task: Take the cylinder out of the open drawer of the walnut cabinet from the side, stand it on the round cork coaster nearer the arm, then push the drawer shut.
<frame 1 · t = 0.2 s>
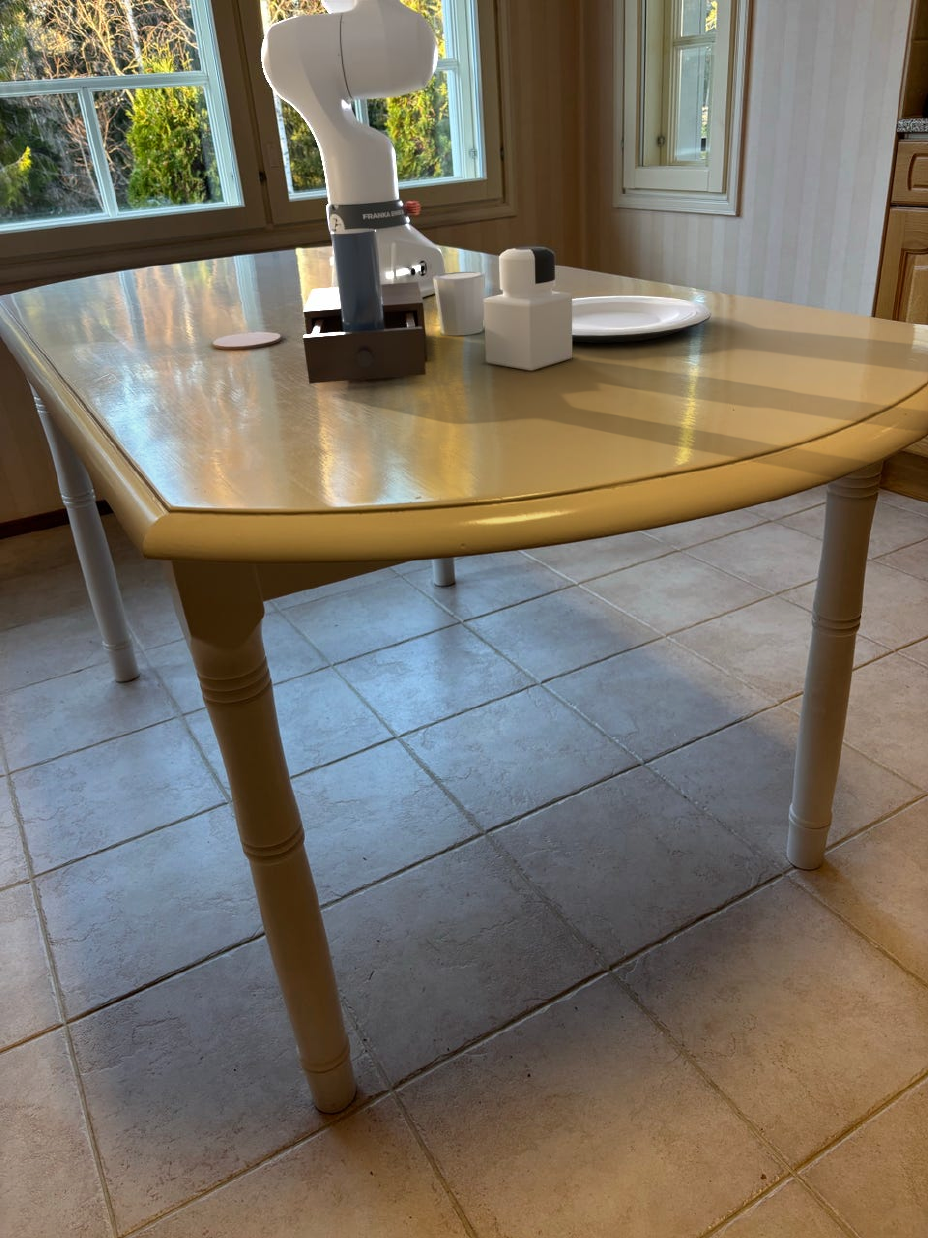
coaster: (247, 341, 120), on the table
medicine bottle: (529, 362, 102), on the table
white cup: (462, 332, 119), on the table
cabinet: (370, 350, 111), on the table
plate: (609, 329, 115), on the table
cylinder: (367, 358, 99), point 2 cm above the table, touching drawer
drawer: (366, 342, 100), point 3 cm above the table, slide at 9.0 cm, touching cylinder
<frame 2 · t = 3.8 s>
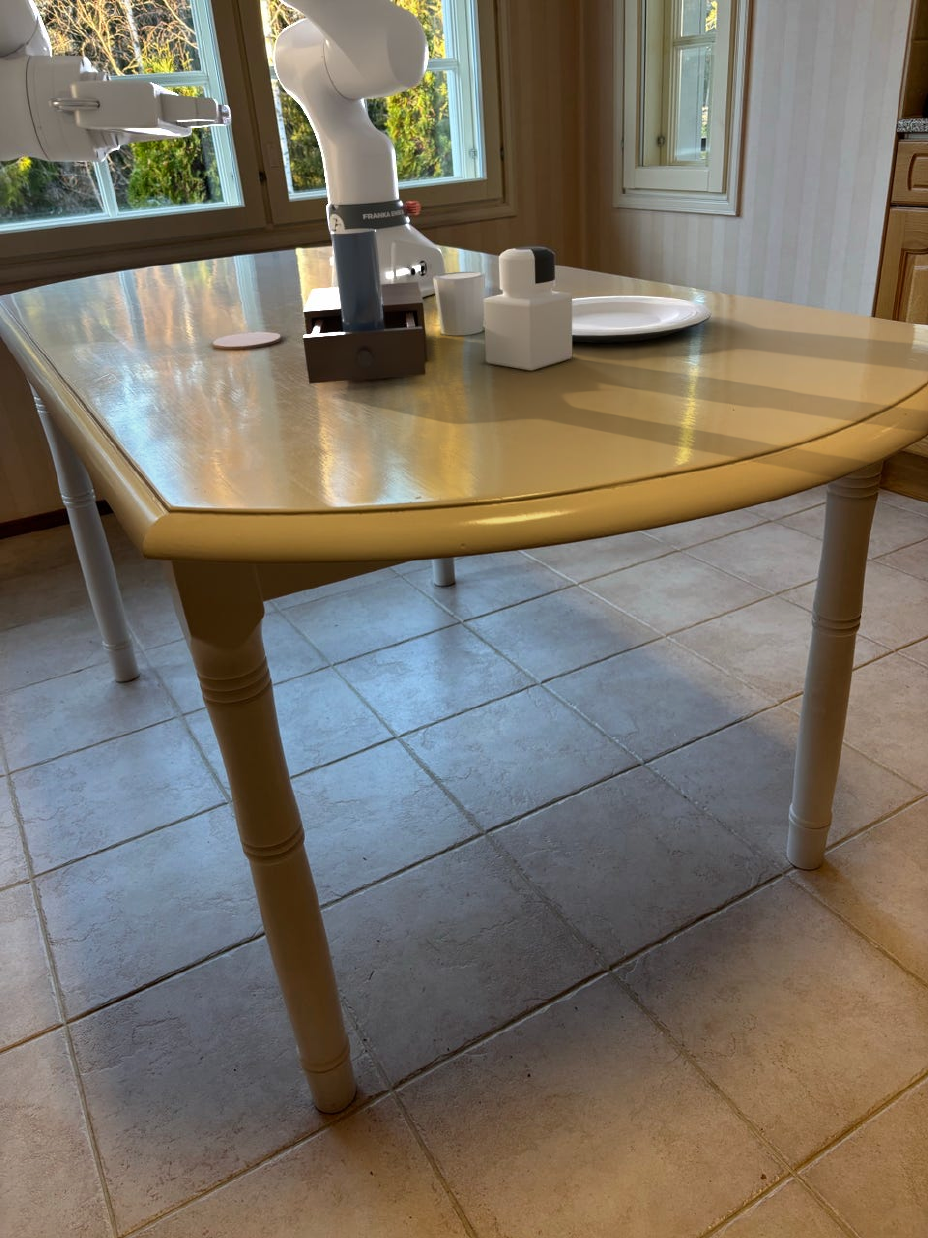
hand: (224, 112, 87), 26 cm above the table, tool horizontal, fingers open, 8 cm apart
nothing on the table moved.
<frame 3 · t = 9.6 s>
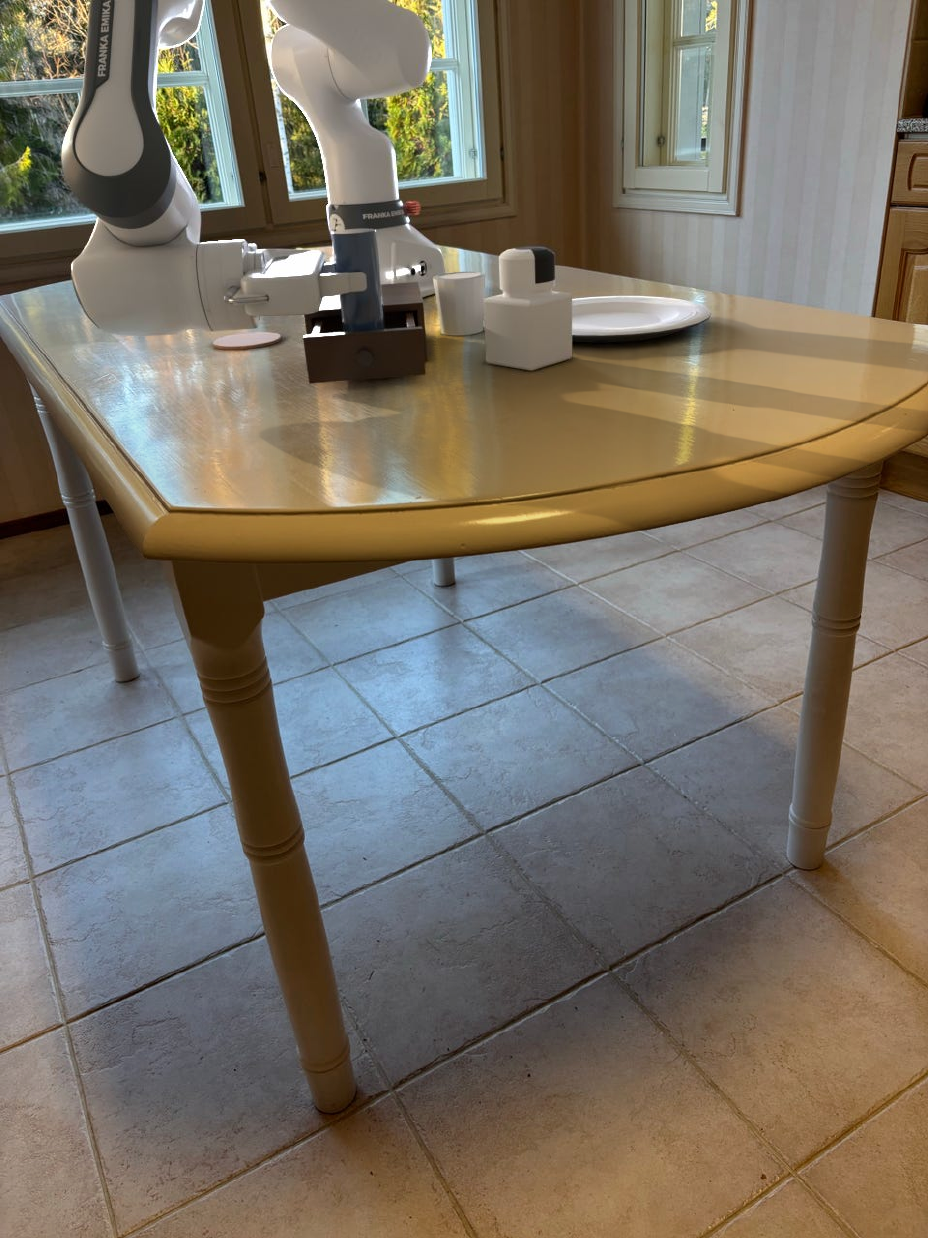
hand: (366, 276, 95), 11 cm above the table, tool horizontal, fingers closed on cylinder, 4 cm apart
cylinder: (367, 358, 99), point 2 cm above the table, touching drawer, gripper
everything else where it was.
when the fingers open (9 cm above the table, at t = 19.6 s): cylinder stays where it is, resting on coaster.
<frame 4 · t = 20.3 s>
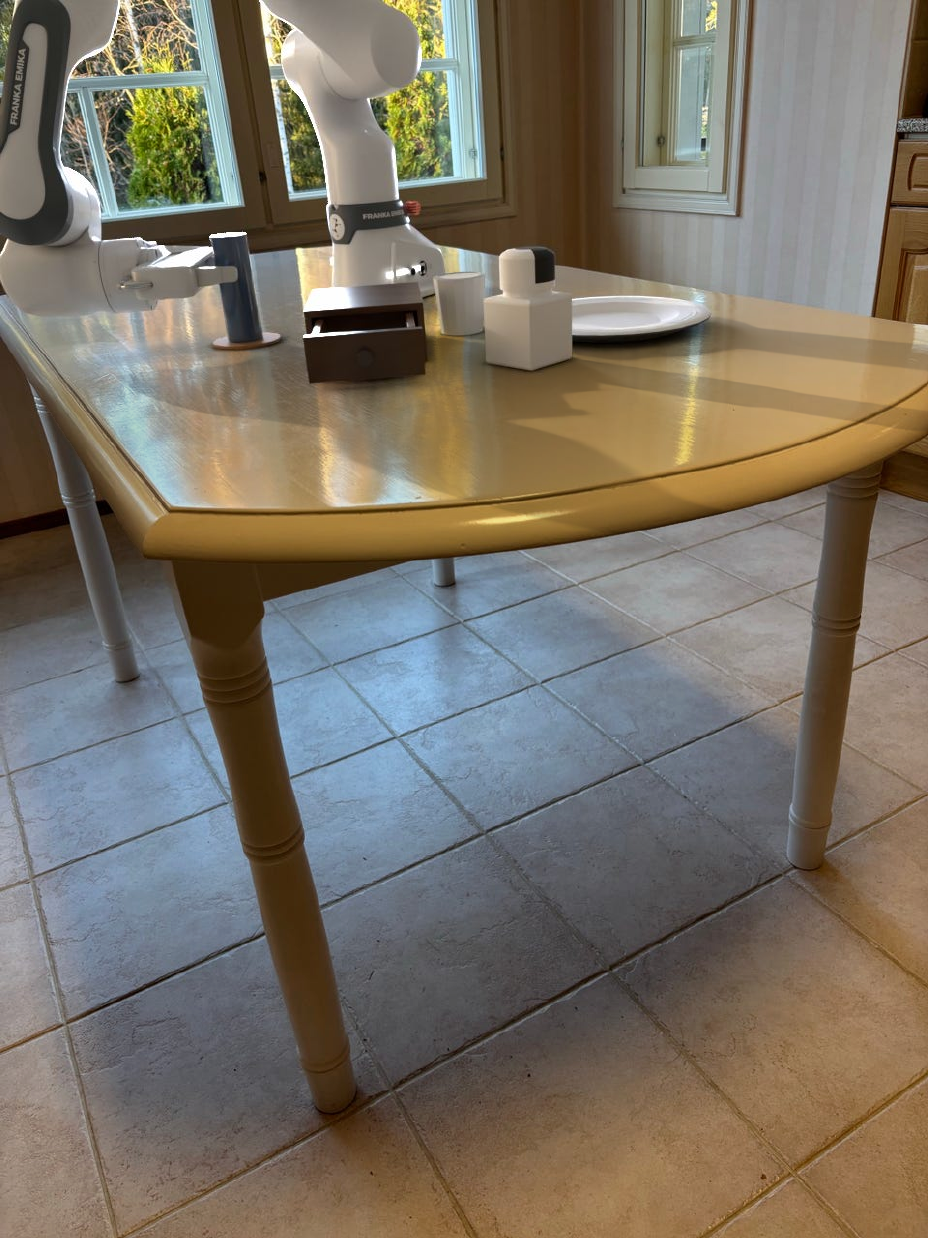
hand: (242, 267, 116), 9 cm above the table, tool horizontal, fingers open, 8 cm apart
cylinder: (245, 339, 120), resting on coaster
drawer: (366, 343, 100), point 3 cm above the table, slide at 9.0 cm
everything else where it was.
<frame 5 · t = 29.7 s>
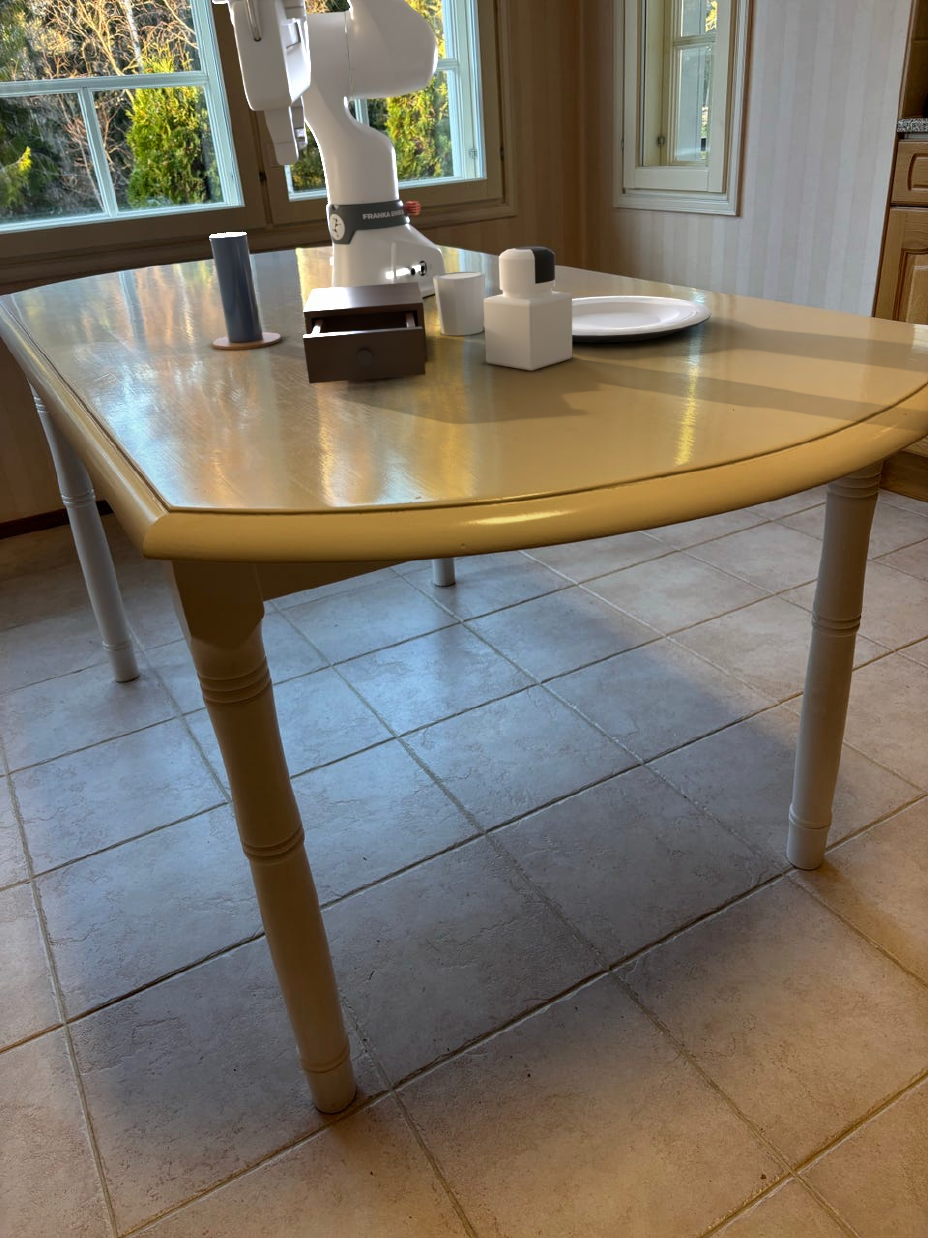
hand: (294, 156, 83), 22 cm above the table, tool pointing down, fingers open, 8 cm apart
nothing on the table moved.
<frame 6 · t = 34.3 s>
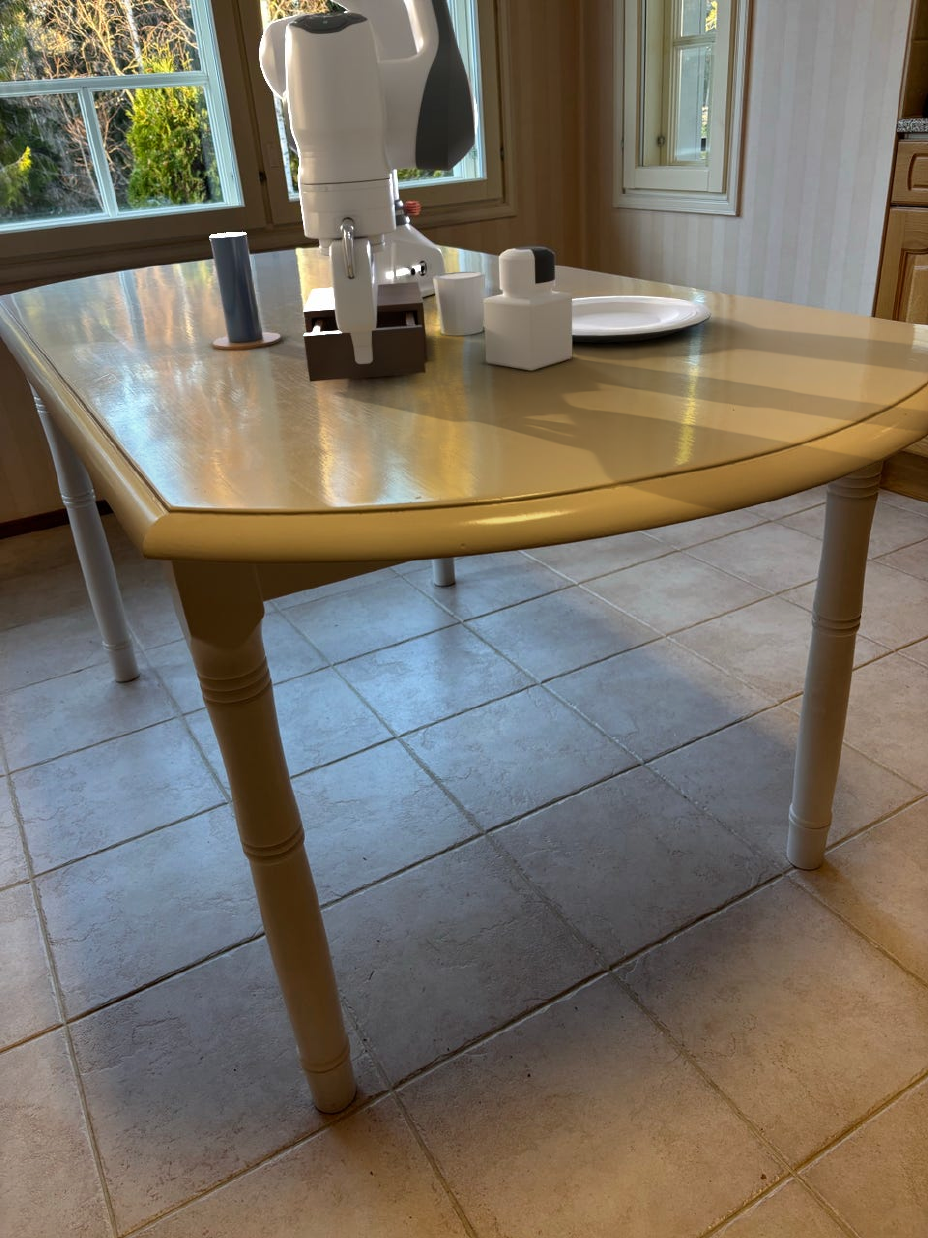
hand: (364, 360, 92), 3 cm above the table, tool pointing down, fingers closed
drawer: (366, 341, 101), point 3 cm above the table, slide at 8.1 cm, touching gripper
everything else where it was.
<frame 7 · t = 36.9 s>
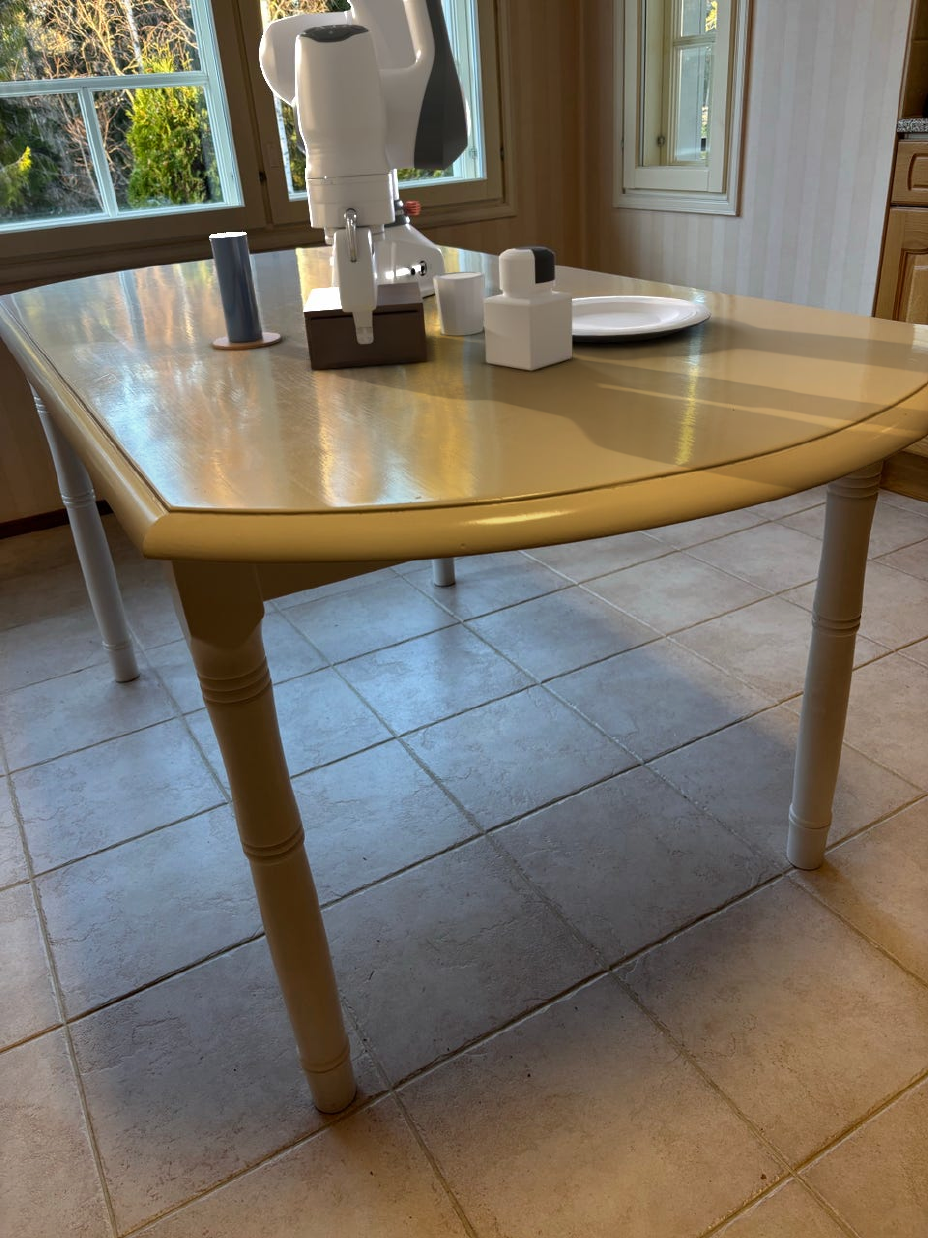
hand: (365, 342, 100), 3 cm above the table, tool pointing down, fingers closed, pressing on drawer
drawer: (367, 327, 108), point 3 cm above the table, slide at 0.0 cm, touching cabinet, gripper
everything else where it was.
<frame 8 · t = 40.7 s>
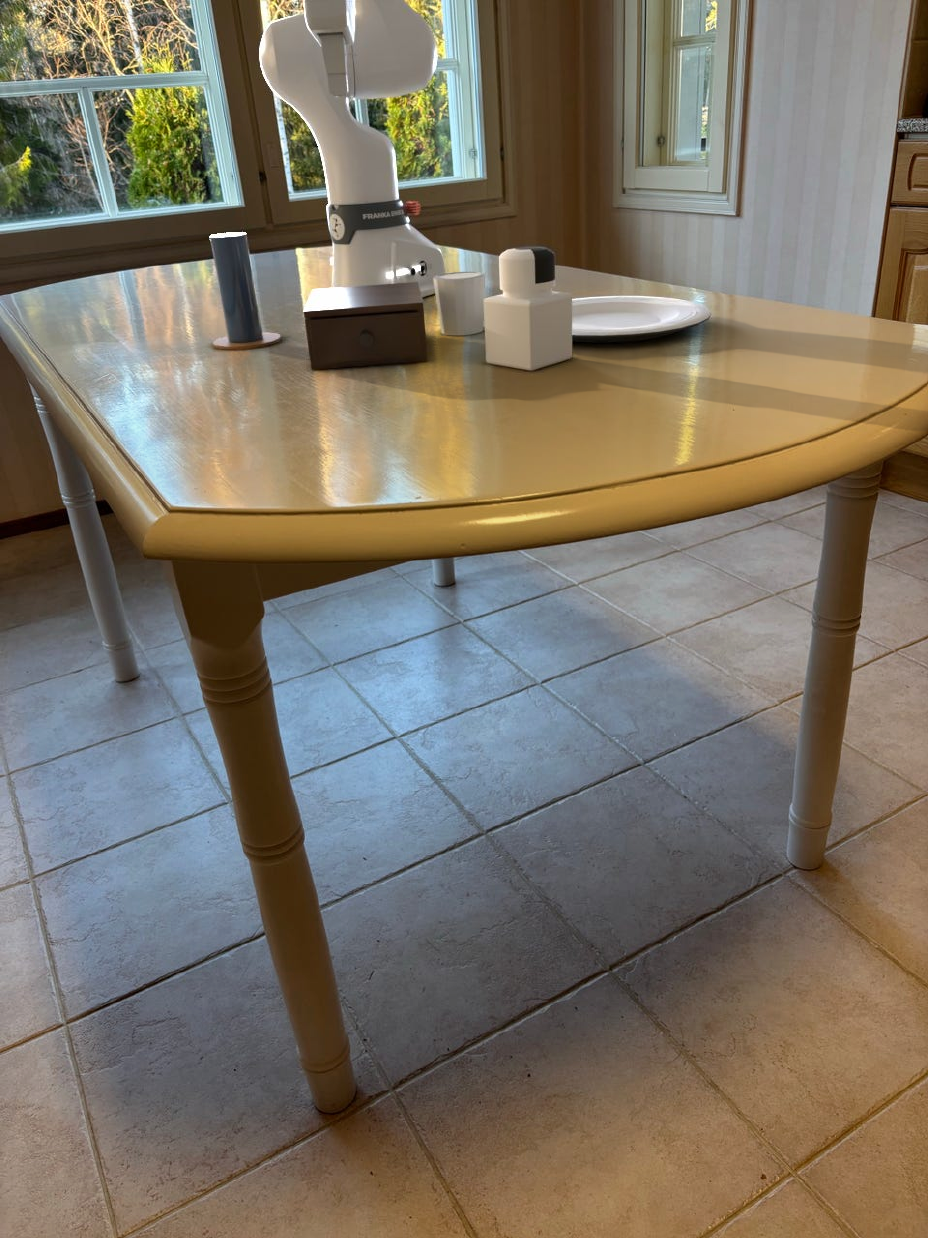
hand: (339, 95, 87), 27 cm above the table, tool pointing down, fingers closed
drawer: (367, 327, 108), point 3 cm above the table, slide at 0.0 cm, touching cabinet
everything else where it was.
at the end: cylinder 0.2 cm off-centre on the coaster, point 0.4 cm above the coaster's base; cylinder tilted 0°; drawer slide at 0.0 cm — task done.
